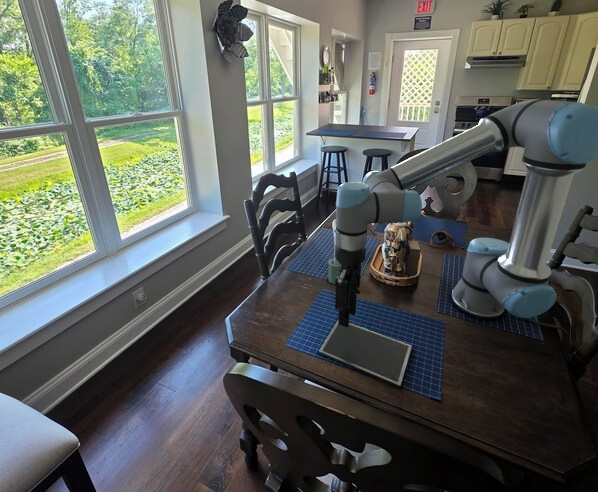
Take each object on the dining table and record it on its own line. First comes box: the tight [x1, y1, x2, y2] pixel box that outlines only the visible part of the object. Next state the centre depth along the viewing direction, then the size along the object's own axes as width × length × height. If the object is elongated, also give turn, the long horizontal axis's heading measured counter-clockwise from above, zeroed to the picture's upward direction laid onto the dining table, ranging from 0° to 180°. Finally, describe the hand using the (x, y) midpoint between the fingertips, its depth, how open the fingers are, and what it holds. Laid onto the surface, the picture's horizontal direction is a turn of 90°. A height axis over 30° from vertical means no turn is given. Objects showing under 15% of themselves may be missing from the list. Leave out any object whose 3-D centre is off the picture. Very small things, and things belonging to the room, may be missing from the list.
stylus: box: [333, 242, 339, 265], centre depth 115 cm, size 2×2×15 cm
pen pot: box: [327, 257, 341, 285], centre depth 117 cm, size 5×5×8 cm
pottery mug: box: [430, 228, 456, 249], centre depth 140 cm, size 12×10×8 cm
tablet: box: [318, 320, 413, 389], centre depth 88 cm, size 22×14×1 cm, turn 61°
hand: (347, 318), depth 88 cm, fingers open, 5 cm apart
